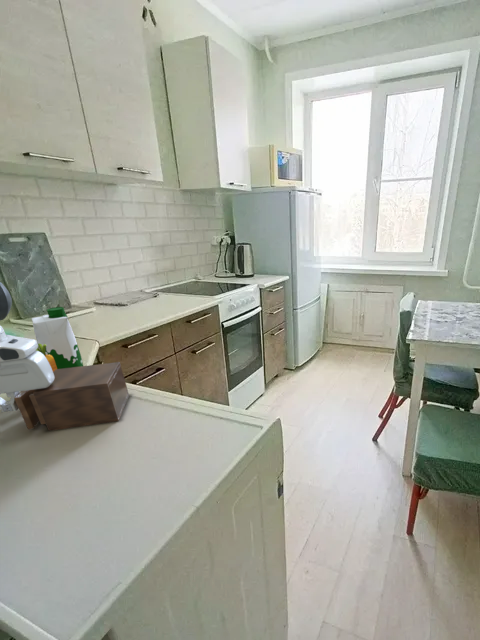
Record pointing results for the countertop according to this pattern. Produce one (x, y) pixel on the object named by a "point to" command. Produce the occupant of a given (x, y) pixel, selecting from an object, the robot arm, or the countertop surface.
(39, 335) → the milk carton
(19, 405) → the drawer
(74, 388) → the cabinet
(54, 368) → the carrot
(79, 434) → the countertop surface
